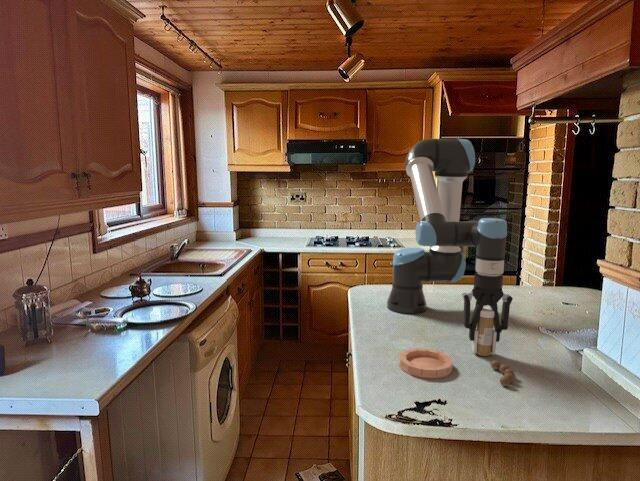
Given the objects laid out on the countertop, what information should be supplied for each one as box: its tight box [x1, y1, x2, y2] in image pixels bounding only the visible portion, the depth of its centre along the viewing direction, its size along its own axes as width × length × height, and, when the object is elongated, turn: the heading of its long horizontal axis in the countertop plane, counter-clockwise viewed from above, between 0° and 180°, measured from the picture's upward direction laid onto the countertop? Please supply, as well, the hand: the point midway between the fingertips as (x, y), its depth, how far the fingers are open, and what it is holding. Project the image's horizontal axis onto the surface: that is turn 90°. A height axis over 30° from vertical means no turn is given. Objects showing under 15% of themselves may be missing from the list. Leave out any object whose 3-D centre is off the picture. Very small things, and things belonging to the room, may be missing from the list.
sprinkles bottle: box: [476, 306, 494, 357], centre depth 123 cm, size 5×5×14 cm
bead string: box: [490, 360, 515, 387], centre depth 110 cm, size 12×5×2 cm, turn 174°
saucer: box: [398, 347, 453, 380], centre depth 115 cm, size 14×14×2 cm
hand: (483, 351), depth 124 cm, fingers closed on sprinkles bottle, 4 cm apart
